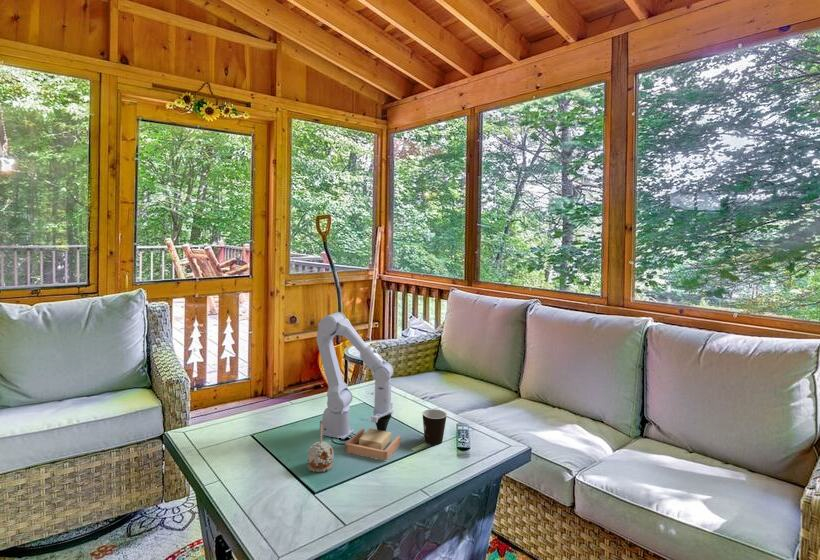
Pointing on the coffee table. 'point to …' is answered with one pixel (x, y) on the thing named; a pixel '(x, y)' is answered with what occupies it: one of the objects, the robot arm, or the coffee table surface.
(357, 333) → the robot arm
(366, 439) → the tan wooden block
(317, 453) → the decorative ornament
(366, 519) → the coffee table surface
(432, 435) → the coffee mug
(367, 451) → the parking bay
